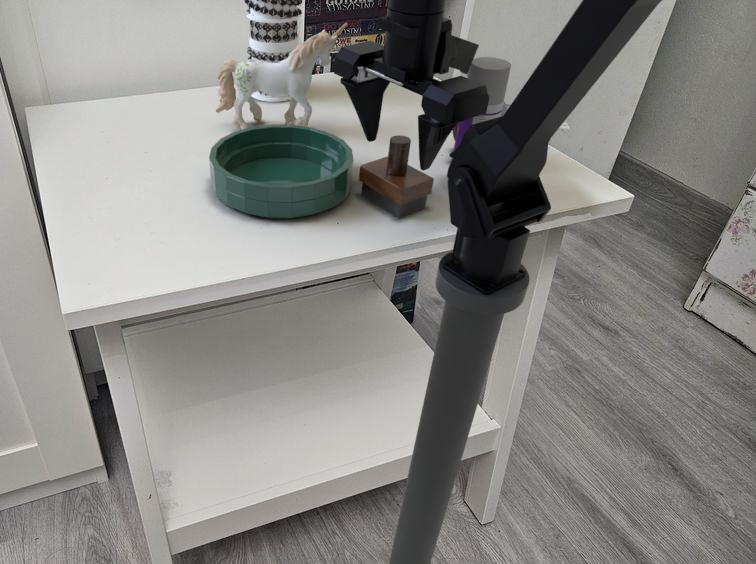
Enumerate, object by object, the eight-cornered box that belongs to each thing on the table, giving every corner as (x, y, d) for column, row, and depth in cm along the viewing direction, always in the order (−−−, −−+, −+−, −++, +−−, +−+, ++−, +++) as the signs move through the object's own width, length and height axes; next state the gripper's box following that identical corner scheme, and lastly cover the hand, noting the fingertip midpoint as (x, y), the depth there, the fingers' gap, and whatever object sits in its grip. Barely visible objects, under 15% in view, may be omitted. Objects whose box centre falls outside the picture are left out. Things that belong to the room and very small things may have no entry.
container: (444, 175, 84) (466, 56, 74) (479, 176, 84) (506, 56, 74) (451, 193, 81) (475, 69, 71) (488, 193, 81) (517, 70, 71)
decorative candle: (241, 84, 109) (234, -92, 92) (294, 80, 110) (296, -94, 94) (252, 104, 102) (246, -82, 86) (307, 100, 104) (312, -84, 87)
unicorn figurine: (352, 135, 94) (359, 37, 85) (219, 142, 91) (212, 42, 82) (341, 116, 99) (347, 22, 90) (216, 122, 97) (209, 27, 88)
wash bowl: (378, 195, 80) (382, 161, 77) (262, 237, 72) (261, 201, 69) (296, 146, 91) (297, 114, 88) (187, 178, 83) (184, 145, 80)
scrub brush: (428, 208, 78) (439, 145, 72) (398, 220, 75) (407, 156, 70) (386, 184, 82) (394, 123, 77) (357, 195, 80) (362, 133, 75)
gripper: (542, 17, 62) (505, 166, 73) (410, -21, 74) (394, 113, 84) (463, 35, 57) (435, 193, 68) (334, -8, 69) (327, 133, 79)
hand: (397, 154), depth 75 cm, fingers open, 9 cm apart
